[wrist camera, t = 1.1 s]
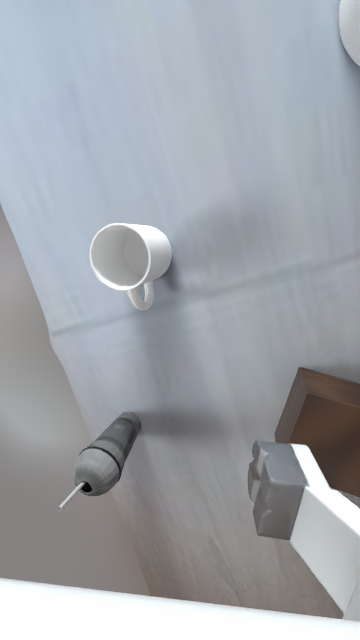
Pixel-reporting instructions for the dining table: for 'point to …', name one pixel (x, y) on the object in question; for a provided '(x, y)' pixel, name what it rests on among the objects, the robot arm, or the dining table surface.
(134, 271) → the mug
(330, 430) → the cabinet
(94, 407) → the dining table surface
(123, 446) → the beverage cup
